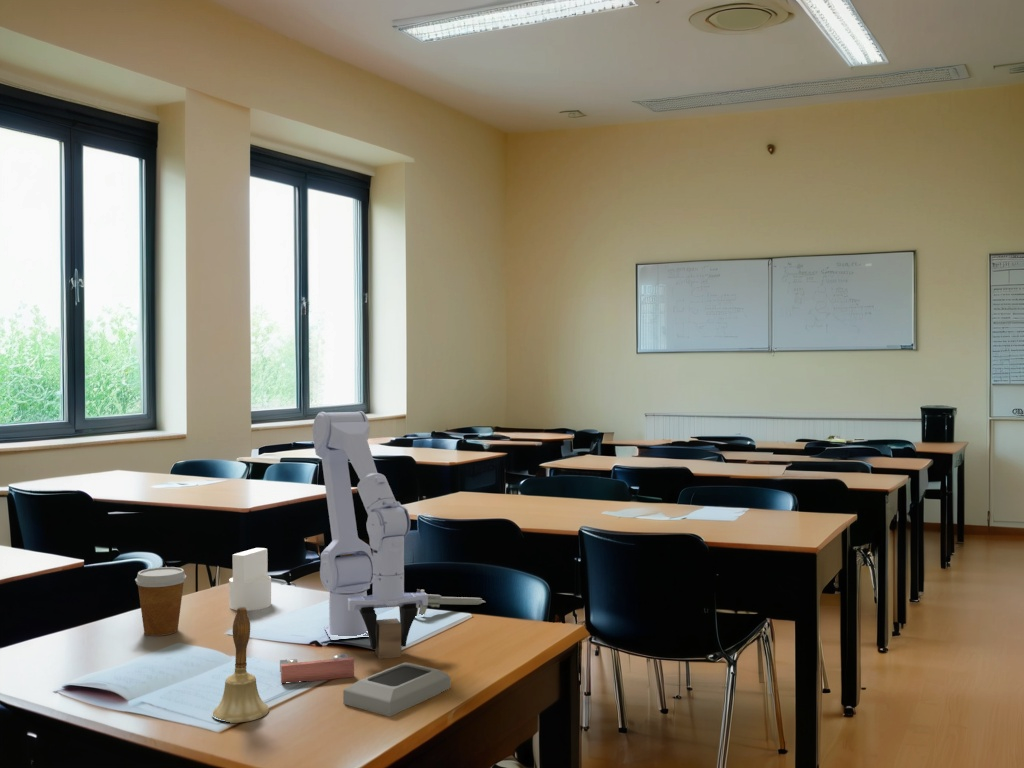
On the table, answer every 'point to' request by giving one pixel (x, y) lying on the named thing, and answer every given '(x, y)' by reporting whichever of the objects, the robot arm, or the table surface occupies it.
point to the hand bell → (241, 681)
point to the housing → (317, 669)
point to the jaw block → (388, 638)
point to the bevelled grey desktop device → (396, 688)
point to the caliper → (446, 601)
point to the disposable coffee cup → (160, 599)
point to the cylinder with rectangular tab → (250, 580)
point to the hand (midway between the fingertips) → (388, 646)
